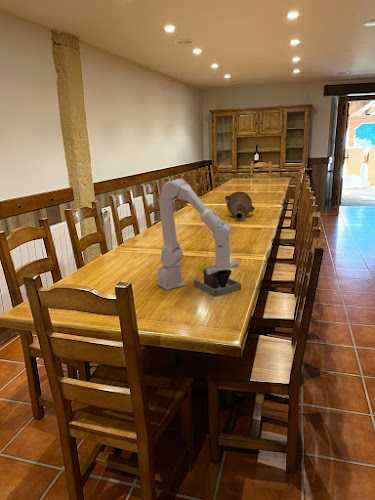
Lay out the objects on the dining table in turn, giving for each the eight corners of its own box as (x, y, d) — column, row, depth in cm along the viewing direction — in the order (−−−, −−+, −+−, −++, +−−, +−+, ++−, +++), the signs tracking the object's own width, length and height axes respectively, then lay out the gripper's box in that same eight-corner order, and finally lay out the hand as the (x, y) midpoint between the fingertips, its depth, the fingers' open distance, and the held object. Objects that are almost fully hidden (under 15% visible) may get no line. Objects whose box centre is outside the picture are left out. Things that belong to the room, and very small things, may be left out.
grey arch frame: (215, 296, 145) (215, 290, 144) (194, 285, 158) (193, 279, 157) (240, 289, 151) (240, 283, 150) (218, 278, 164) (218, 273, 163)
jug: (230, 214, 304) (228, 228, 278) (225, 191, 297) (221, 204, 270) (255, 209, 299) (255, 223, 272) (250, 185, 291) (249, 198, 265)
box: (212, 281, 161) (211, 265, 159) (223, 284, 157) (223, 268, 155) (203, 286, 156) (202, 269, 154) (215, 289, 152) (214, 272, 150)
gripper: (213, 261, 140) (214, 294, 144) (243, 253, 147) (243, 286, 151) (202, 256, 146) (203, 289, 150) (232, 250, 153) (232, 281, 157)
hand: (223, 287), depth 151 cm, fingers closed
